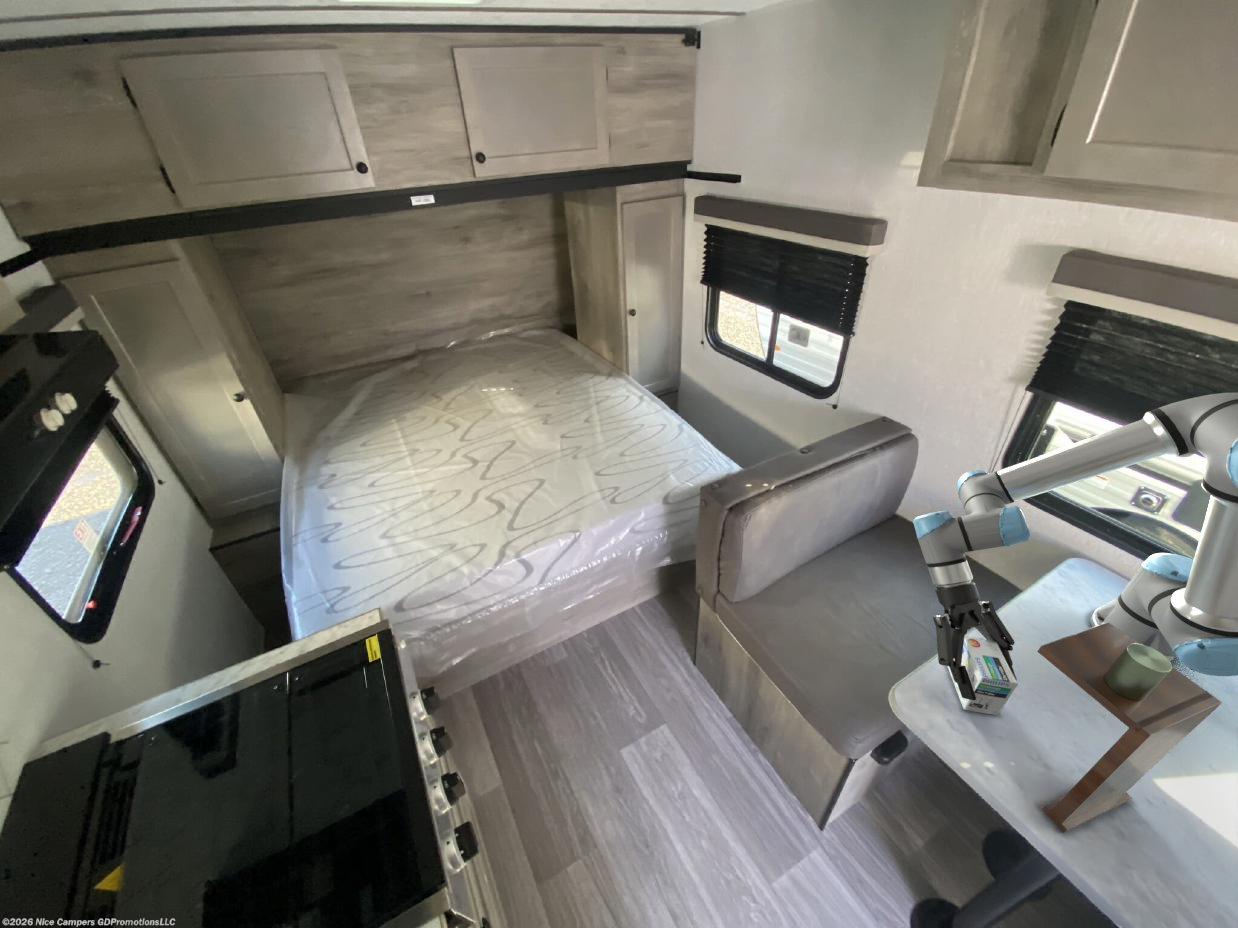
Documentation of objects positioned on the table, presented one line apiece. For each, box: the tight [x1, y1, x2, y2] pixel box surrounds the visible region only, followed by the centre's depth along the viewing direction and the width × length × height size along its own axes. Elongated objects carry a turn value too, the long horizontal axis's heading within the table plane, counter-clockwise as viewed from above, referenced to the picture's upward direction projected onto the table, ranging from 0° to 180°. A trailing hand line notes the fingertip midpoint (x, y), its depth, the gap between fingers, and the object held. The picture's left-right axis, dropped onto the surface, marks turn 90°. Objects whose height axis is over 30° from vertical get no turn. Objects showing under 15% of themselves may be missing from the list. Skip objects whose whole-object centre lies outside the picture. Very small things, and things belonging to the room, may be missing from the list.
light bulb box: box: [947, 635, 1019, 716], centre depth 107 cm, size 11×7×11 cm, turn 168°
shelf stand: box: [1037, 622, 1223, 834], centre depth 86 cm, size 16×17×36 cm
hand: (990, 690), depth 105 cm, fingers closed on light bulb box, 10 cm apart
